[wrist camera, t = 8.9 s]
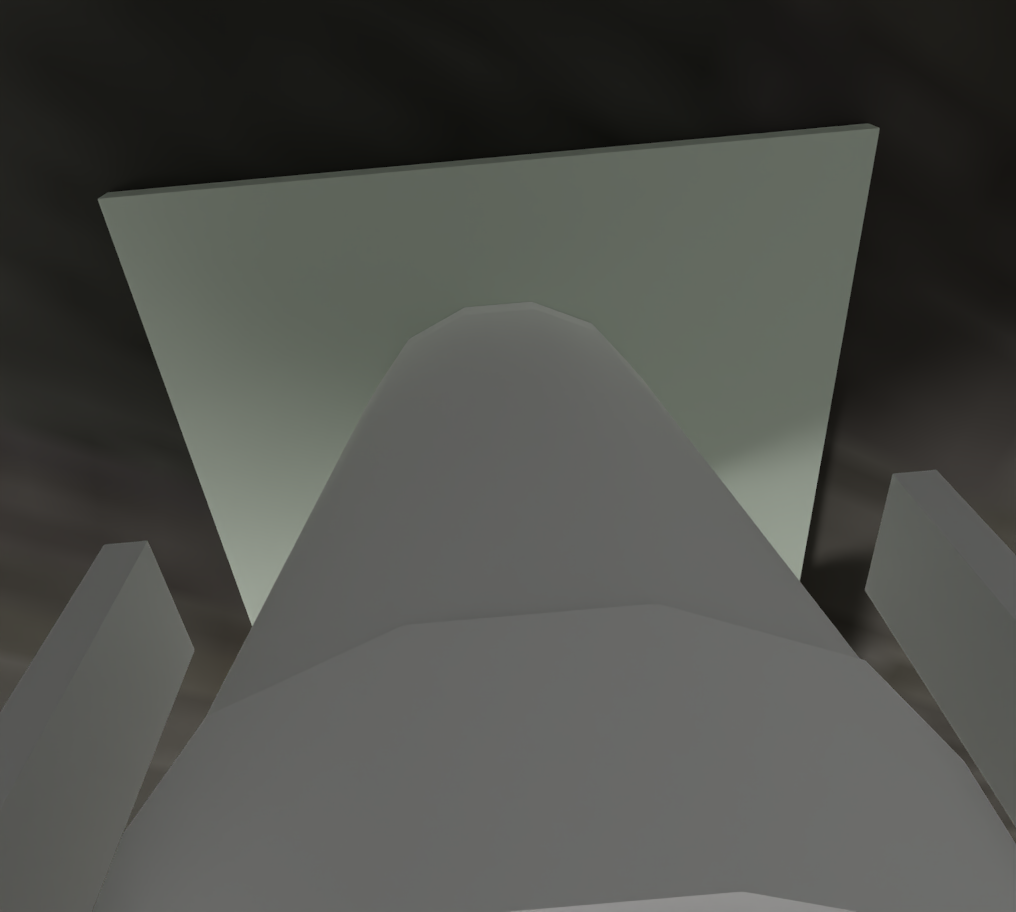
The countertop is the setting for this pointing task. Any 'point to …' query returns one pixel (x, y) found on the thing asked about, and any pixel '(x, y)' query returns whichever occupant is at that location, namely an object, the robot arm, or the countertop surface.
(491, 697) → the foam cup
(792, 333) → the pad
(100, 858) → the robot arm
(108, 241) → the countertop surface
